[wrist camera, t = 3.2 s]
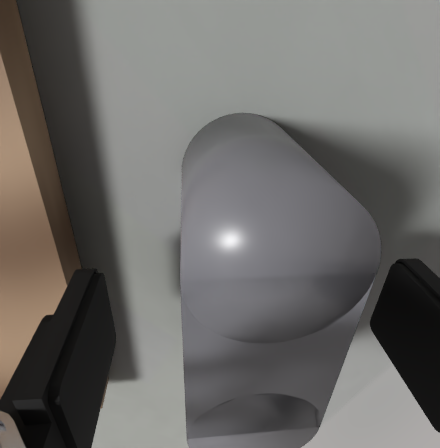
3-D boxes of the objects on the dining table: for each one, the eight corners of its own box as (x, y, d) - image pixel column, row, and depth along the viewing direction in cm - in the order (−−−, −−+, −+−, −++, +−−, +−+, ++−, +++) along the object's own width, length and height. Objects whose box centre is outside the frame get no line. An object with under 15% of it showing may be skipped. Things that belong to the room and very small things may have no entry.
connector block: (179, 112, 10) (176, 184, 5) (305, 113, 10) (410, 182, 5) (187, 359, 16) (189, 496, 11) (265, 354, 16) (298, 484, 12)
